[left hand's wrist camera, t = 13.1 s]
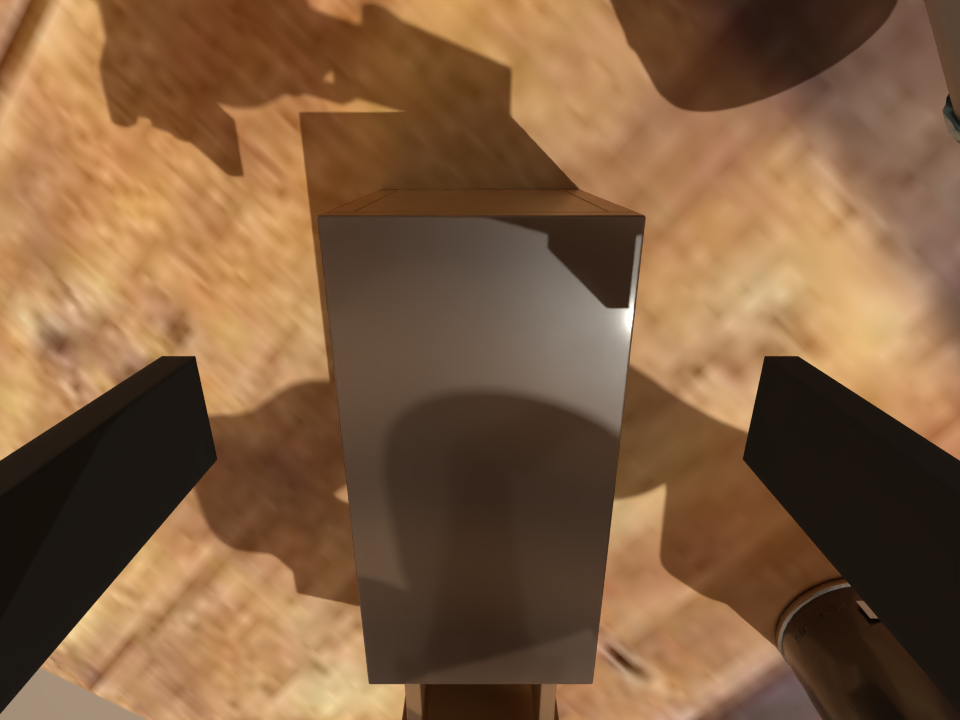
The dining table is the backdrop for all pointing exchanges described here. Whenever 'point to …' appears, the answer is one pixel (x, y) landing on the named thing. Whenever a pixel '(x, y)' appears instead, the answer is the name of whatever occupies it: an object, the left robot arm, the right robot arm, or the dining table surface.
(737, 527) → the dining table surface
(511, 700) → the drawer
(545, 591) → the cabinet
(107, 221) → the dining table surface
